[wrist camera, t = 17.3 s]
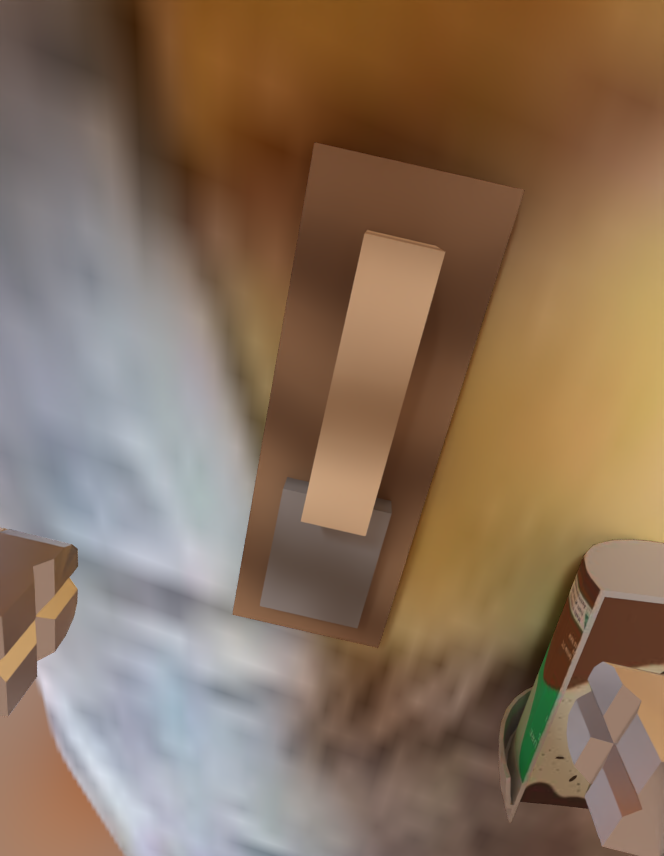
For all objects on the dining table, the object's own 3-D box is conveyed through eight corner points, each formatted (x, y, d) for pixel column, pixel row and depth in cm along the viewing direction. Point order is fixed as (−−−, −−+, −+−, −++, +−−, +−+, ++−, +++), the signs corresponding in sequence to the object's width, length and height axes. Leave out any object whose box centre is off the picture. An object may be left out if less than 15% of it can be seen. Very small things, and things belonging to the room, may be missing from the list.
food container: (500, 512, 24) (457, 701, 26) (556, 584, 18) (494, 821, 20) (767, 546, 24) (701, 729, 27) (909, 627, 18) (809, 855, 21)
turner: (338, 223, 18) (330, 225, 16) (464, 252, 18) (479, 259, 16) (264, 590, 24) (249, 639, 22) (358, 612, 24) (355, 664, 22)
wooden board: (317, 145, 18) (314, 142, 17) (517, 191, 18) (524, 189, 17) (237, 600, 26) (232, 614, 25) (378, 632, 26) (378, 647, 25)
